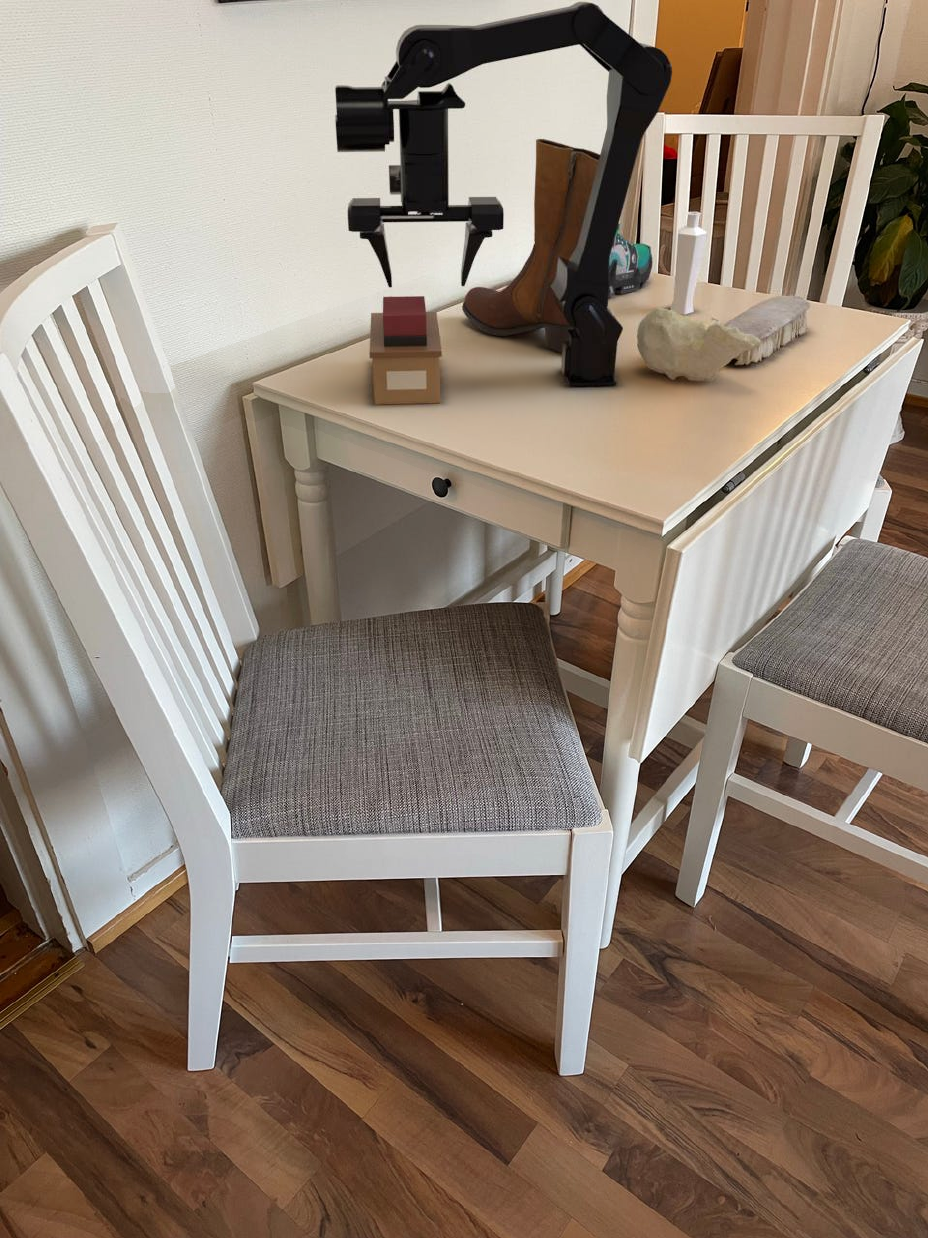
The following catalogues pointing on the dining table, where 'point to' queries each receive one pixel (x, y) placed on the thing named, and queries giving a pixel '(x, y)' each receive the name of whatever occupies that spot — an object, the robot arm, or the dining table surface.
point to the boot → (541, 249)
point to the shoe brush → (771, 325)
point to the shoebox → (405, 366)
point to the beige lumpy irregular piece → (689, 345)
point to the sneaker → (628, 265)
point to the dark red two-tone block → (404, 321)
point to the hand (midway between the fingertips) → (426, 285)
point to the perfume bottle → (688, 263)
